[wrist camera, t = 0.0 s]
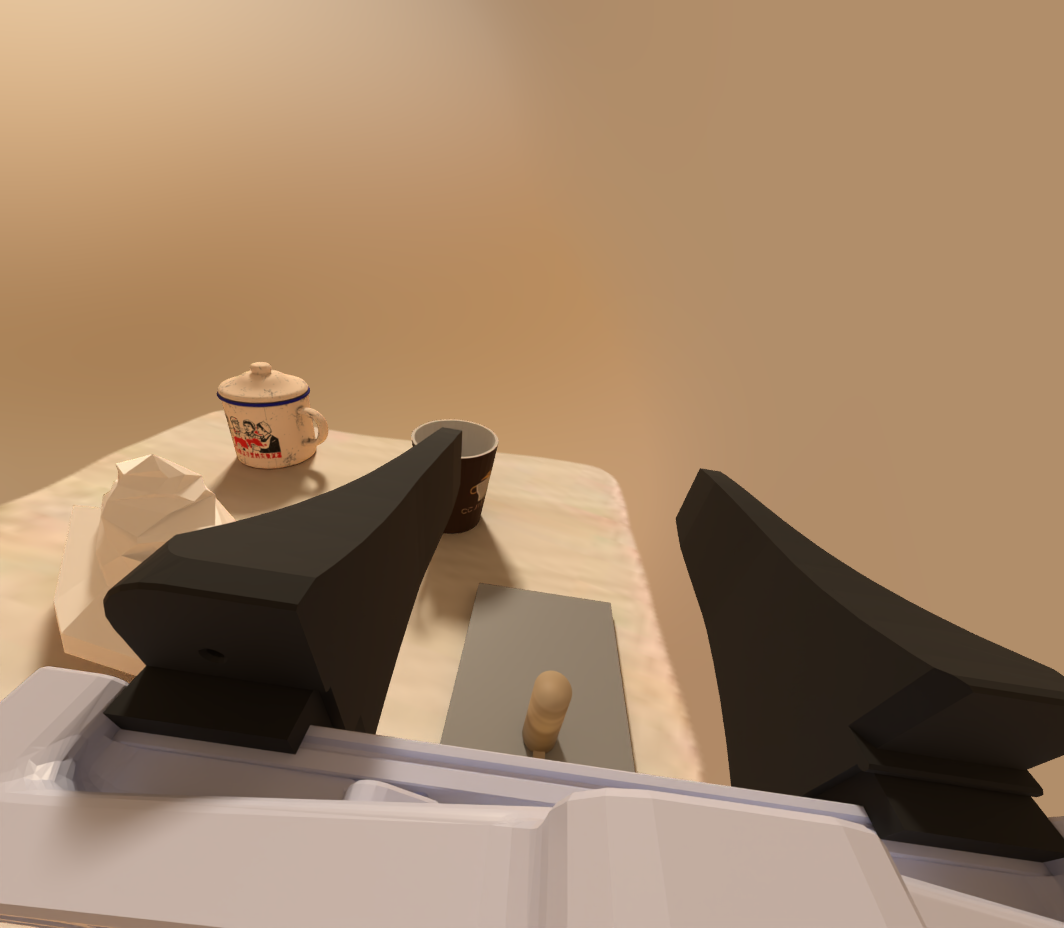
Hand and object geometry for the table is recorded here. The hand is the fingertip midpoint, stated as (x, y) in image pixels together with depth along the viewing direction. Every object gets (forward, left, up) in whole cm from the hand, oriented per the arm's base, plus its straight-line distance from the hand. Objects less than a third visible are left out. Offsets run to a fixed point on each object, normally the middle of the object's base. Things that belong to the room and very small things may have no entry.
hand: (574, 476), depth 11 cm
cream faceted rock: (+9, +26, -22) cm, 35 cm away
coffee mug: (+23, +10, -22) cm, 33 cm away
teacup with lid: (+31, +32, -22) cm, 50 cm away
